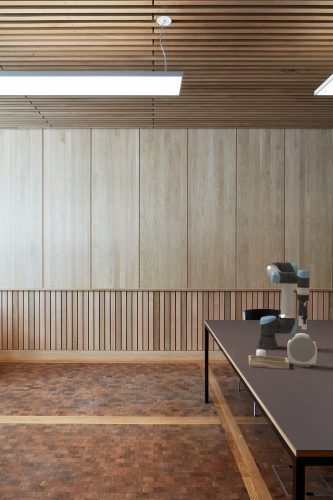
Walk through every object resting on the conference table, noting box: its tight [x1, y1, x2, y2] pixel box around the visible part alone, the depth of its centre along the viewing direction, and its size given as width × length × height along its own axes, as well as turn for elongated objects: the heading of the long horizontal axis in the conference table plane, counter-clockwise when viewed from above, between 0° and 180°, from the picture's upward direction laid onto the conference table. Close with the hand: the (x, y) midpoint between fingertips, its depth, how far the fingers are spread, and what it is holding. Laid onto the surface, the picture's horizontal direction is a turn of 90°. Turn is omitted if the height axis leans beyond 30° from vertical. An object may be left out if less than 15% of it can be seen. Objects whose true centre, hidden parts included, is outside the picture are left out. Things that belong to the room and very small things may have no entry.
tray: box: [248, 354, 290, 370], centre depth 272 cm, size 13×24×4 cm, turn 82°
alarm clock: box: [286, 332, 318, 368], centre depth 272 cm, size 18×8×20 cm, turn 74°
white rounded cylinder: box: [255, 348, 267, 356], centre depth 282 cm, size 6×6×7 cm
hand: (302, 327), depth 272 cm, fingers open, 13 cm apart
